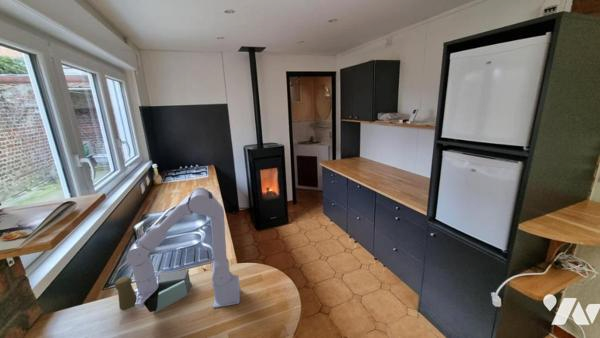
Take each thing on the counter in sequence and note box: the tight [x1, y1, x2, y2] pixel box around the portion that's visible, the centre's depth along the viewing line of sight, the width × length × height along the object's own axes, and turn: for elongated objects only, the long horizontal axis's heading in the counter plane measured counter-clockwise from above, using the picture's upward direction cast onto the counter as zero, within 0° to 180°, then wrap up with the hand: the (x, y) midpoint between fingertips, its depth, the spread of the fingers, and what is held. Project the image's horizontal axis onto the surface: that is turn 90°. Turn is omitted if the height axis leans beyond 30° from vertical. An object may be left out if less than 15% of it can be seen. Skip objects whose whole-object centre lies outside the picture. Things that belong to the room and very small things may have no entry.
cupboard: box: [158, 268, 192, 295], centre depth 100 cm, size 13×6×7 cm, turn 100°
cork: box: [114, 276, 137, 311], centre depth 94 cm, size 6×6×11 cm
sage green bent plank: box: [152, 280, 188, 314], centre depth 93 cm, size 12×1×6 cm, turn 135°
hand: (153, 310), depth 86 cm, fingers closed
